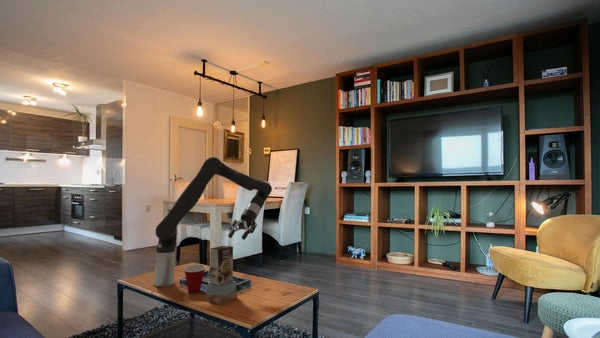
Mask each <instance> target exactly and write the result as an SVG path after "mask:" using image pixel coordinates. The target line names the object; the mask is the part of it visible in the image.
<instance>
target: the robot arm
mask: <svg viewBox="0 0 600 338" xmlns="http://www.w3.org/2000/svg"><path fill="white" fill-rule="evenodd" d="M215 175H217V176H220V177H223V178H225V179H228V180H229V181H231V182H232V183H234V184H236V185H237V186H239V187H241V188H243V189H245V190H247V191H249V192H251V191H253V190H256V193H255V195H254V196H253V197H252V199H251V200H250V202H249V203H248V205H247V206H246V207H245V208H244V210H243V212H242V213H241V215H240V219H239V220H237V219H234V220H233V221H232V223H231V224H230V226H229V227H228V229H229V233H228V234H227V236H228V238H229V239H232V238H233V236H234V234H235V233H236V232H238V231H240V230H244V232H243V233H242V235H241V239H242V240H243V241H244V240H246V239H247V237H248V235H249V234H253V233H254V232H255V230H256V228H257V226H258V224H257V222H256V220H257V218H258V216H259V214H260V213H261V210H262V208H263V206H264V205H265V202H266V201H267V199H268V198H269V197H270V194H271V193H272V191H273V188H272V185H271V184H270V183H268V182H266V181H264V180H260V179H255V178H253V177H251V176H249V175H247V174H245V173H243V172H240V171H237V170H235V169H233V168H231V167H229V166H228V165H226V164H225V163H223V162H222V161H221V160H220V159H219V158H218V157H216V156H210V157H207V159H205V161H204V163H202V166H201V167H200V169H199V171H198V172H197V174H196V175H195V177H194V178H193V179H192V180H191V181H190V182H189V184H188V185H187V186H186V187H185V189H183V191H182V192H181V194H180V195H179V196H178V198H177V200H175V201H176V202H174V204H173V206H172V207H171V210H170V211H169V212H168V213H167V214H166V216H165V217H164V218H163V219H162V220H161V221H160V222H159V223H158V224H157V226H156V227H155V235H156V237H157V238H158V242H157V246H156V249H155V251H156V253H155V266H154V270H153V272H154V275H153V278H154V279H153V285H154V286H155V287H159V288H160V287H161V288H163V287H169V286H173V285H174V283H175V267H176V266H175V265H176V263H175V262H176V247H177V242H178V241H177V239H178V225H179V224H180V222H181V220H182V219H183V218H184V217H185V216H186V215H187V214H188V213H189V212H190V211H191V210H192V209H194V207H195V206H196V204H197V203H198V201H199V200H200V199H201V197H202V195H203V194H204V192H205V189H206V188H207V186H208V183H209V182H210V181H211V180H212V179H213V178H214V177H215Z"/></svg>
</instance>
